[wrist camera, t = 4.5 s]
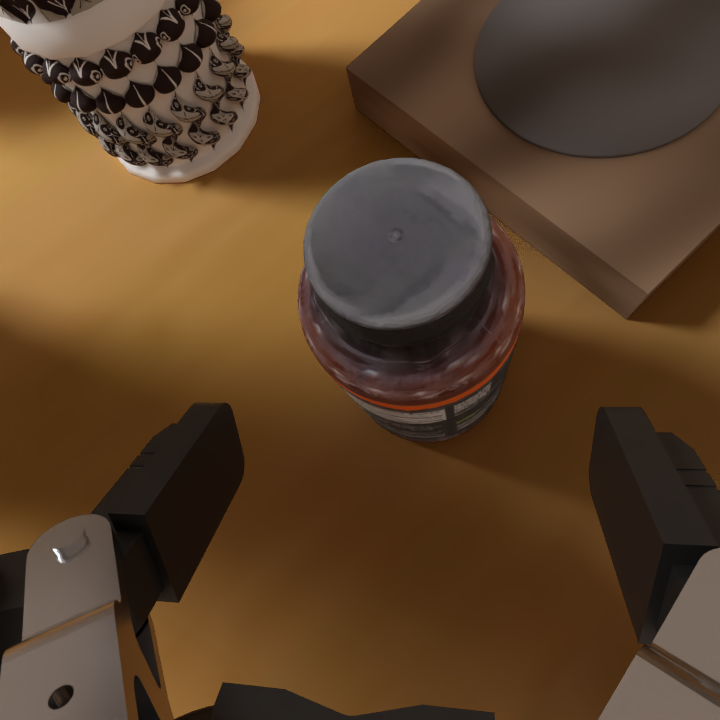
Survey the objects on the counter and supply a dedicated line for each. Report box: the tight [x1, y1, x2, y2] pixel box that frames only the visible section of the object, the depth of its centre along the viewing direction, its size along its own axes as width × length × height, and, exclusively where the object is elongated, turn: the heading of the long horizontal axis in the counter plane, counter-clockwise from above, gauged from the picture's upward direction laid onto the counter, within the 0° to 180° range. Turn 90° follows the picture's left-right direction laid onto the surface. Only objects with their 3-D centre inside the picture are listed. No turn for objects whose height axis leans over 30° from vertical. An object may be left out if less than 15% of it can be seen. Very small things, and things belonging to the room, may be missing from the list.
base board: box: [346, 0, 720, 319], centre depth 22 cm, size 16×14×3 cm
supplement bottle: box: [298, 158, 525, 442], centre depth 16 cm, size 6×6×11 cm
